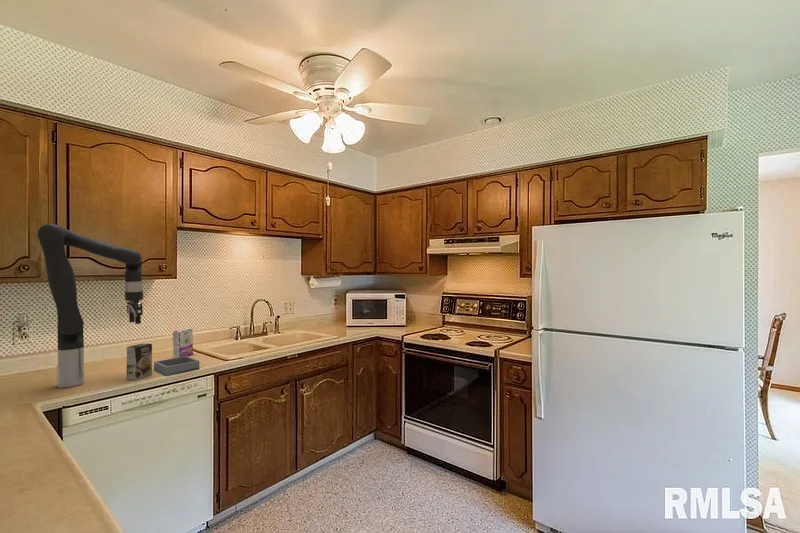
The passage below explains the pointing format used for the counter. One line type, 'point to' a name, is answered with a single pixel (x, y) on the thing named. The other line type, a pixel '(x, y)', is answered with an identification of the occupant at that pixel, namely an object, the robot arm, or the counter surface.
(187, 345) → the candy bar box
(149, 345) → the coffee box
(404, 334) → the counter surface
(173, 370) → the box
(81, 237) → the robot arm
